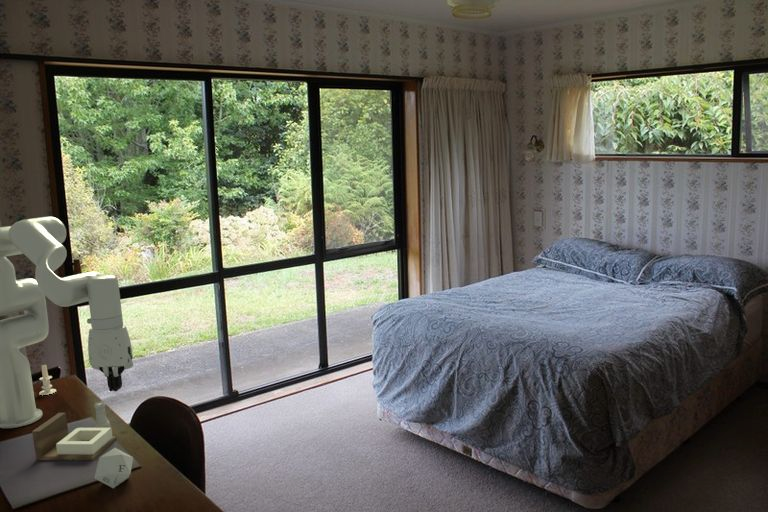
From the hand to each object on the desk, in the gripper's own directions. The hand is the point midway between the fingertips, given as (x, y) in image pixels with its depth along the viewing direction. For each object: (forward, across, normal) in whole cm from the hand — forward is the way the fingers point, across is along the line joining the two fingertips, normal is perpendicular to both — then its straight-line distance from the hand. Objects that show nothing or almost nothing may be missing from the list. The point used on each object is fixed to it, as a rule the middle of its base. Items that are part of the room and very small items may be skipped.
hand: (115, 389), depth 174 cm
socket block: (+16, -10, 0) cm, 19 cm away
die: (+17, +7, -17) cm, 25 cm away
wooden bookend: (+17, -13, 0) cm, 21 cm away
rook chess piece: (+17, -13, +13) cm, 25 cm away
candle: (+17, -48, +41) cm, 65 cm away
